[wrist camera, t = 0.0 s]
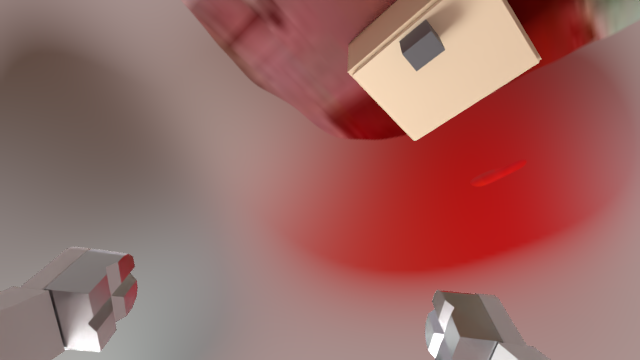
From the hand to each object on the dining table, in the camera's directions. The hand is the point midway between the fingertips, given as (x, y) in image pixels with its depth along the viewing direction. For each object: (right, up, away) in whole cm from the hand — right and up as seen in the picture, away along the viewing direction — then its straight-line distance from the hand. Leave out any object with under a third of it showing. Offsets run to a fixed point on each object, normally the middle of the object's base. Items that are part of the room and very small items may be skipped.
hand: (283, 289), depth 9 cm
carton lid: (+18, +19, +38) cm, 46 cm away
